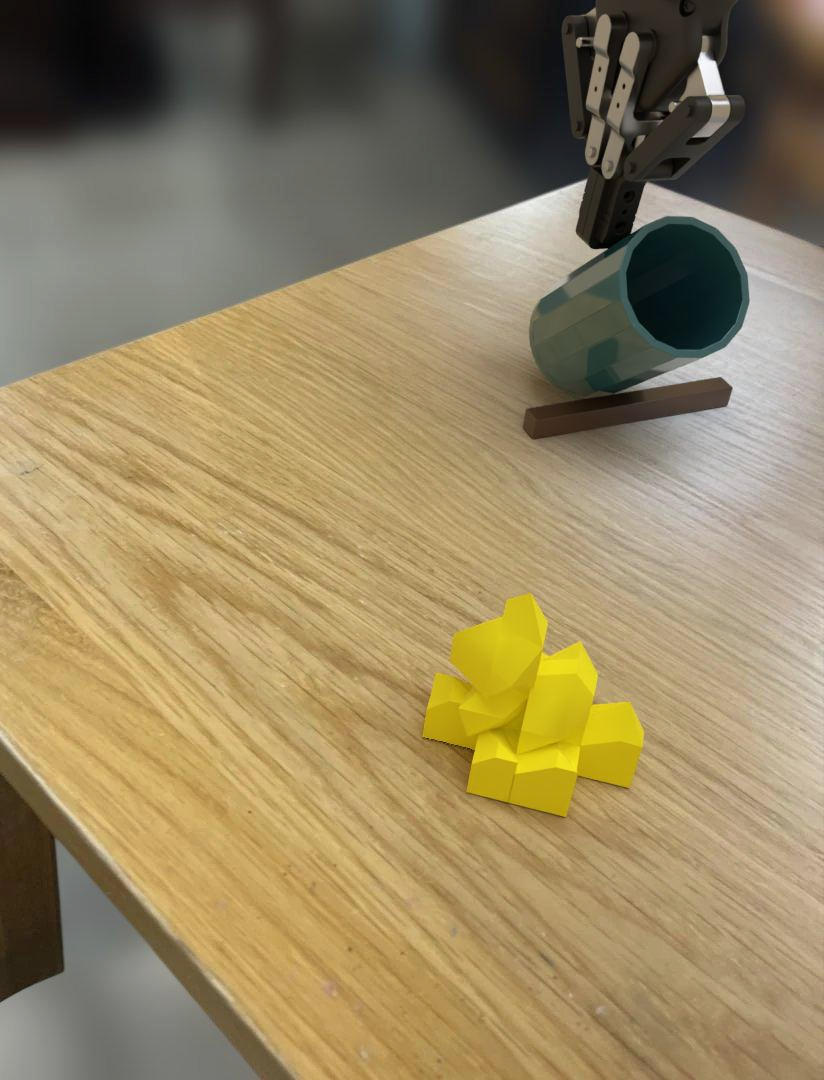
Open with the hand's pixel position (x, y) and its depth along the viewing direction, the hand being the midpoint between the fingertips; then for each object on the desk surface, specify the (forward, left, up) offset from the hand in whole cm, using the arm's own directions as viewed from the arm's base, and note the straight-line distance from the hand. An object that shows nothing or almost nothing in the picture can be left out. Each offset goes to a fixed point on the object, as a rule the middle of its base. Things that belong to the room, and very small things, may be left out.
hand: (599, 241), depth 62 cm
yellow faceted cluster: (+14, +23, -9) cm, 28 cm away
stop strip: (-2, +3, -9) cm, 10 cm away
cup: (-1, -1, -6) cm, 7 cm away
